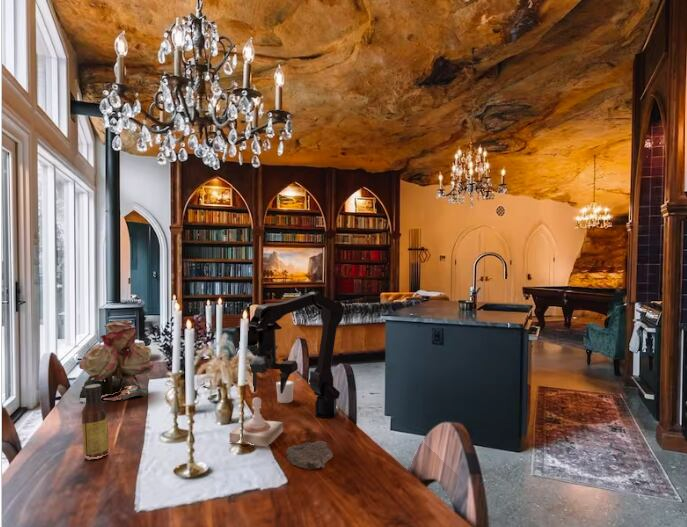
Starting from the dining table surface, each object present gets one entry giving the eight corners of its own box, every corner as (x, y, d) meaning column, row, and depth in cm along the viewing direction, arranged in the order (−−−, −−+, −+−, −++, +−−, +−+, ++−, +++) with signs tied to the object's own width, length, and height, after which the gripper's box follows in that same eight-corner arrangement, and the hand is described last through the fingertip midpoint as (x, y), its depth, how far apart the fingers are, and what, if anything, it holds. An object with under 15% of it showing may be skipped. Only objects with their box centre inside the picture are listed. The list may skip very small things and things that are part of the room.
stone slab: (290, 475, 117) (290, 464, 117) (284, 448, 133) (284, 437, 133) (337, 470, 119) (337, 459, 119) (326, 444, 136) (326, 434, 136)
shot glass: (292, 403, 172) (292, 385, 172) (274, 403, 172) (274, 385, 172) (295, 397, 179) (294, 380, 179) (277, 397, 179) (277, 380, 179)
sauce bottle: (114, 453, 130) (112, 383, 129) (95, 463, 124) (93, 389, 123) (96, 450, 132) (94, 381, 131) (77, 459, 126) (75, 387, 126)
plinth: (282, 431, 145) (282, 421, 145) (266, 447, 133) (266, 436, 133) (248, 428, 148) (247, 418, 148) (229, 443, 136) (229, 432, 136)
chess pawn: (246, 426, 141) (245, 397, 141) (260, 422, 144) (260, 393, 144) (253, 431, 137) (252, 401, 137) (268, 427, 140) (267, 397, 140)
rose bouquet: (73, 407, 170) (72, 327, 169) (95, 386, 198) (94, 316, 198) (148, 401, 176) (146, 323, 176) (159, 381, 204) (158, 314, 204)
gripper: (228, 349, 141) (229, 399, 142) (285, 350, 137) (286, 402, 137) (244, 341, 152) (245, 388, 152) (297, 343, 148) (299, 391, 148)
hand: (268, 392), depth 147 cm, fingers open, 9 cm apart
